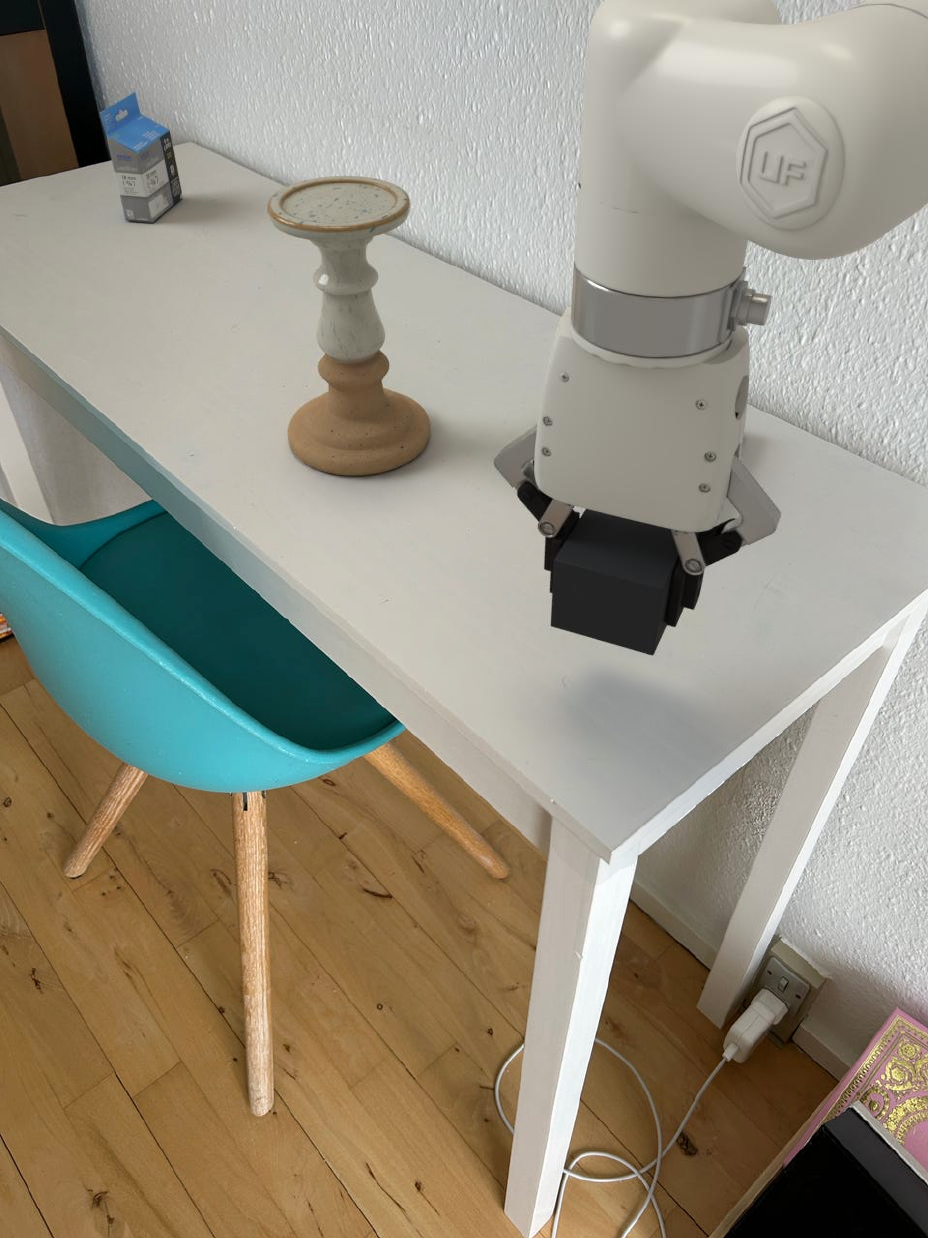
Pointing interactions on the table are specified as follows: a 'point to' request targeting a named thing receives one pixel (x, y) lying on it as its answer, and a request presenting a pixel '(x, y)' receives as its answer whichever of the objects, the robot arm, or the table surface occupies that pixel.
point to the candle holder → (350, 329)
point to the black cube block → (614, 581)
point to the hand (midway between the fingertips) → (619, 593)
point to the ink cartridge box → (141, 162)
